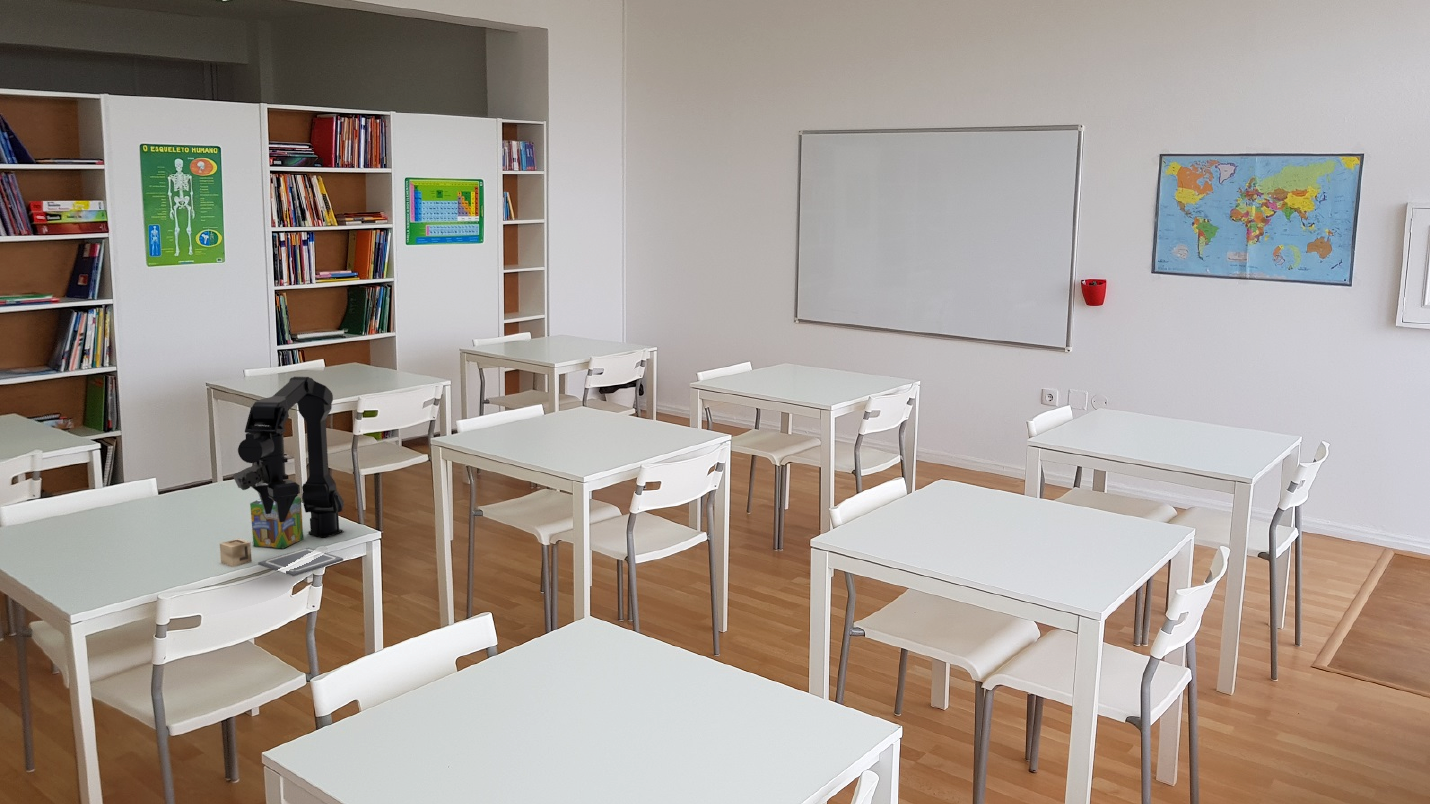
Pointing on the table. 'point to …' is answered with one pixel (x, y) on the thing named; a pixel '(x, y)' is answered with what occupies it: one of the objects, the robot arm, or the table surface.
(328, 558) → the slate pad
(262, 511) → the chalk box
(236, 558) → the letter cube
